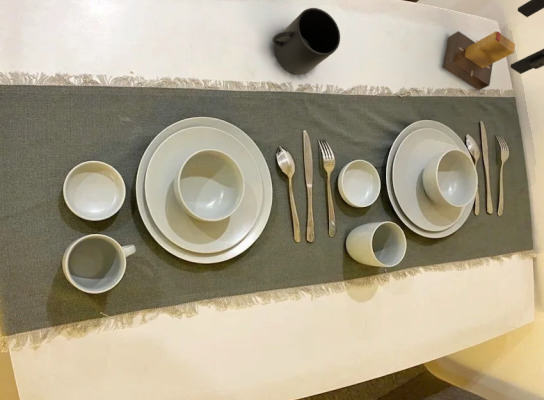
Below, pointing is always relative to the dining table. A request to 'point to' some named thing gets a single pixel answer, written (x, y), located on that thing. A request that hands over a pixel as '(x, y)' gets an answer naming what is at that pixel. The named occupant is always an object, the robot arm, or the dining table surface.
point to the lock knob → (490, 49)
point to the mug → (307, 41)
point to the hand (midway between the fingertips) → (518, 40)
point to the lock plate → (465, 62)
